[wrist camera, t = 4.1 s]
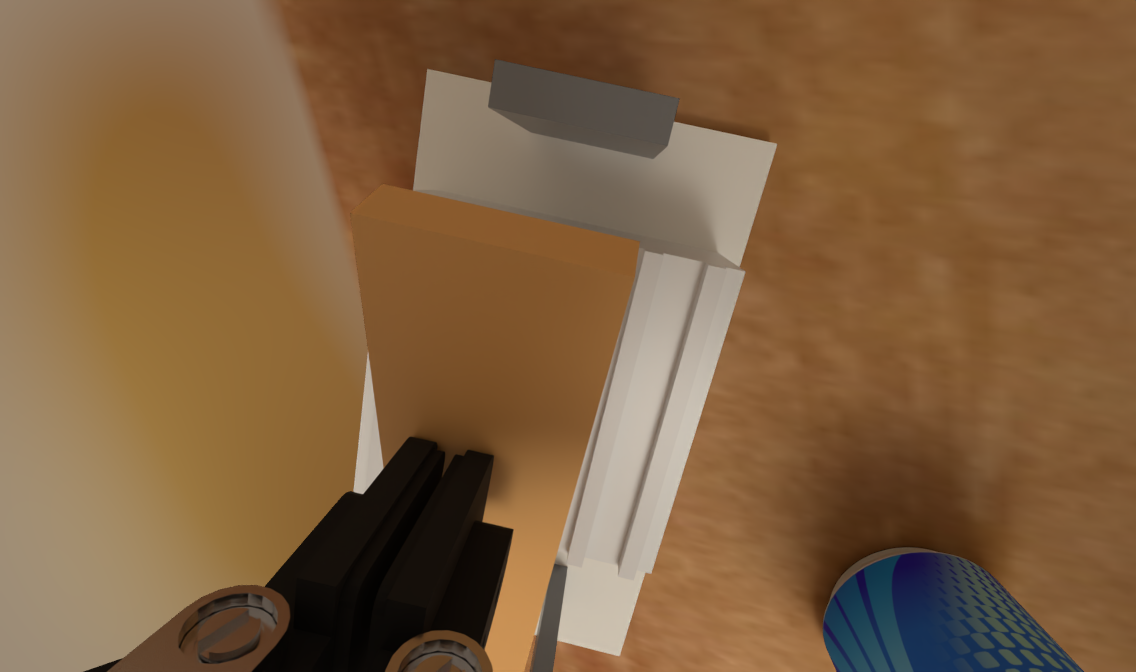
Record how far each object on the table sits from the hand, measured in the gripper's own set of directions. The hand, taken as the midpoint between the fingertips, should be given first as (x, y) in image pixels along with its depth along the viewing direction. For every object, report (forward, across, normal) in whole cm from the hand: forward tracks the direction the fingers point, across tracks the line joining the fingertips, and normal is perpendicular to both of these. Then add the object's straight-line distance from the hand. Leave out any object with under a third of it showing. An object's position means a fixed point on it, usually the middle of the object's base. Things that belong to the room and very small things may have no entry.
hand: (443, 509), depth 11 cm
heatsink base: (+14, -1, +3) cm, 15 cm away
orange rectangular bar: (+4, -1, +4) cm, 5 cm away
